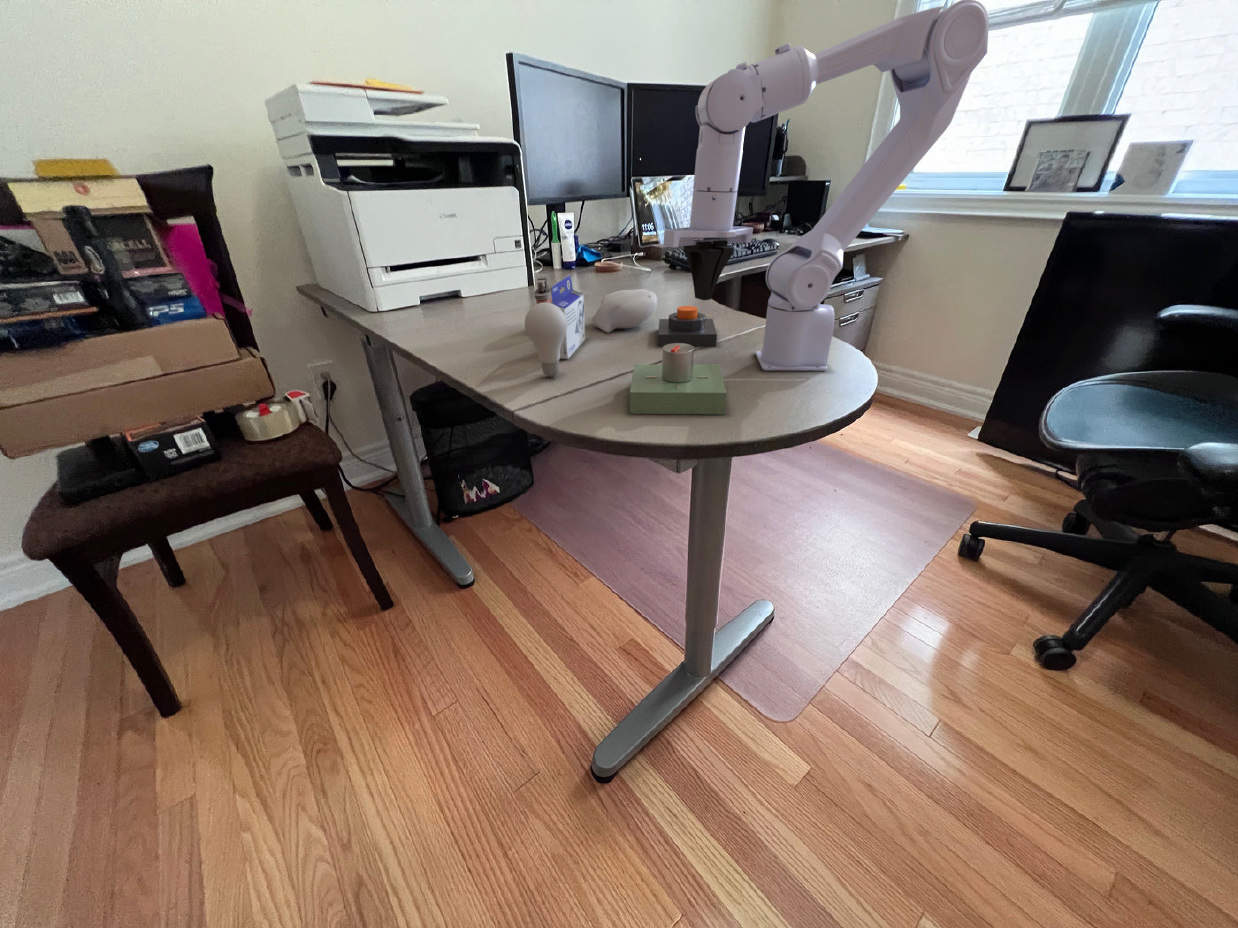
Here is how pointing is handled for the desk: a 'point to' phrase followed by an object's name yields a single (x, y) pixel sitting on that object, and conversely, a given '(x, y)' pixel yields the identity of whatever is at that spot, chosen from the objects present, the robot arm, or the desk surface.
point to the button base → (687, 331)
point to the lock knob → (677, 362)
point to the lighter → (543, 290)
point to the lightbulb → (547, 334)
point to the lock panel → (677, 392)
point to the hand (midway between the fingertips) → (702, 298)
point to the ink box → (570, 315)
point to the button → (687, 312)
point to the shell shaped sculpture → (625, 309)
